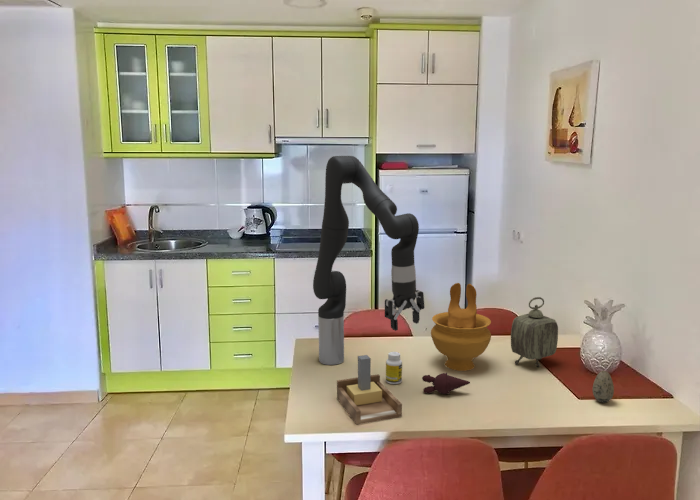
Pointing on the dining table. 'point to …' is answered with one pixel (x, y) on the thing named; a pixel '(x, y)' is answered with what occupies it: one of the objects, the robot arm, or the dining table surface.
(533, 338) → the tabletop clock
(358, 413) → the bay
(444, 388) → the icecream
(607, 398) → the decorative egg
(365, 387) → the block with grey post
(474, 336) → the decorative bowl
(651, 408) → the dining table surface
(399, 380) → the supplement bottle
